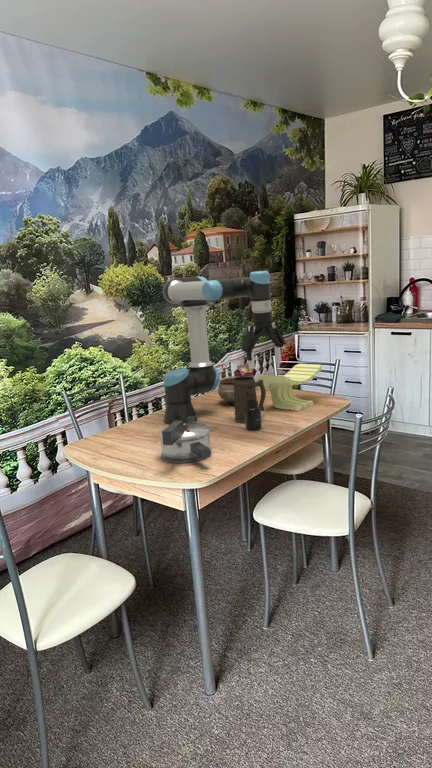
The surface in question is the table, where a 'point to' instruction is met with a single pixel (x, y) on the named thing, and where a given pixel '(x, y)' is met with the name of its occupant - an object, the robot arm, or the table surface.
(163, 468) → the table surface
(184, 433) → the lid
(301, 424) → the table surface
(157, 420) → the table surface
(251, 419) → the supplement bottle
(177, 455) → the pot
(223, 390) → the cooking pot
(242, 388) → the beer stein
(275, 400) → the slatted curved stool
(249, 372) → the juice carton
